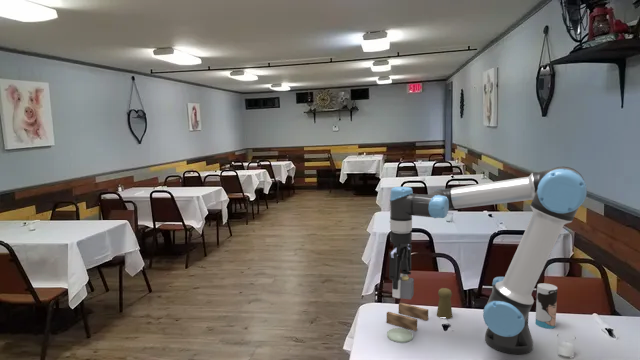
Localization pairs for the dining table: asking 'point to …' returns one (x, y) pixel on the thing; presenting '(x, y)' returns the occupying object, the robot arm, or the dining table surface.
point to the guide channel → (407, 321)
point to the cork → (444, 303)
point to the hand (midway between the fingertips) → (400, 294)
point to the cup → (546, 305)
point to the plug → (406, 287)
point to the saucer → (400, 335)
